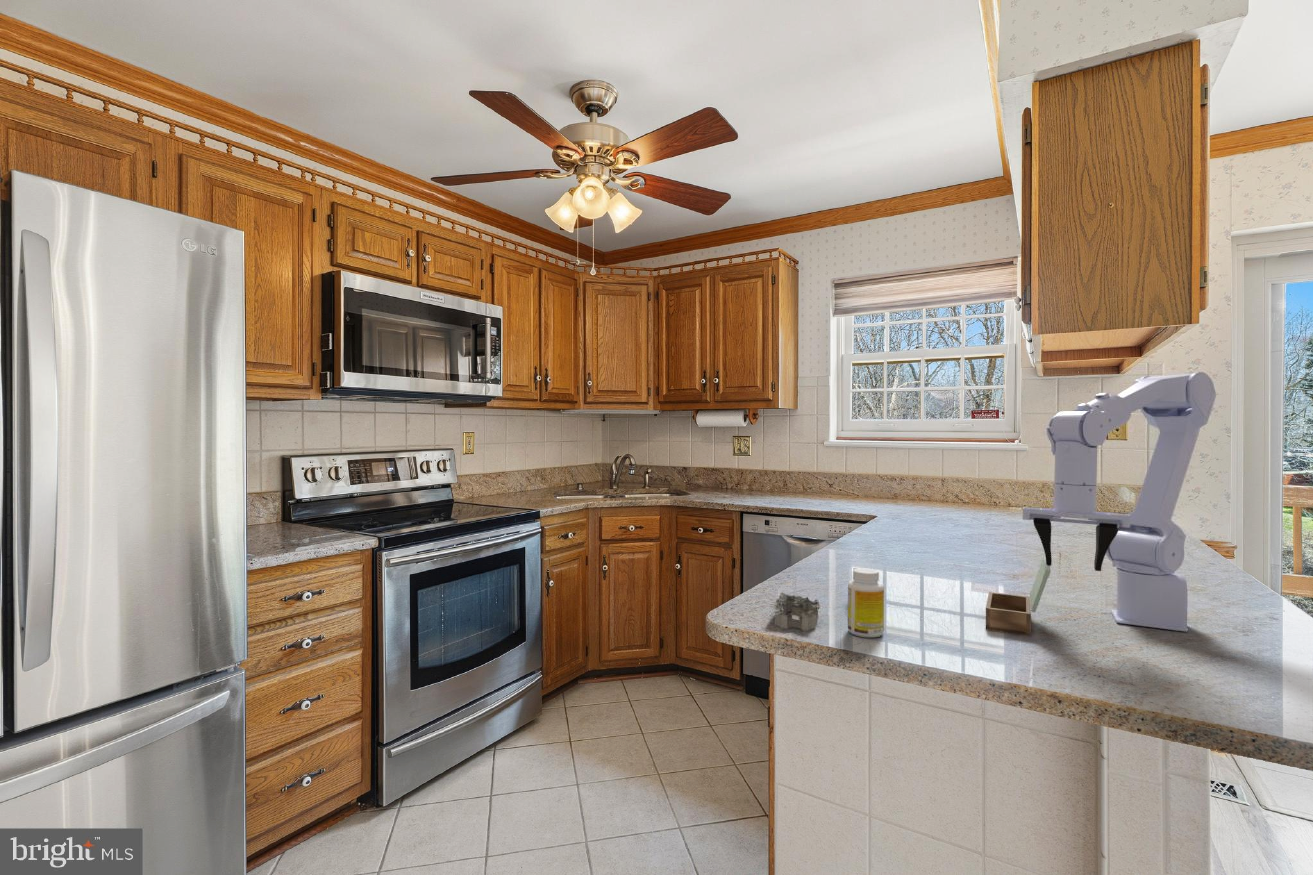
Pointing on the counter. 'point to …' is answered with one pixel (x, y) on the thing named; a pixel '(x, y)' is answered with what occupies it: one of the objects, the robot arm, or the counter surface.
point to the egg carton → (796, 612)
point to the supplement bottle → (865, 604)
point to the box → (1008, 613)
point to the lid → (1039, 584)
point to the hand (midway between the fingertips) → (1072, 567)
